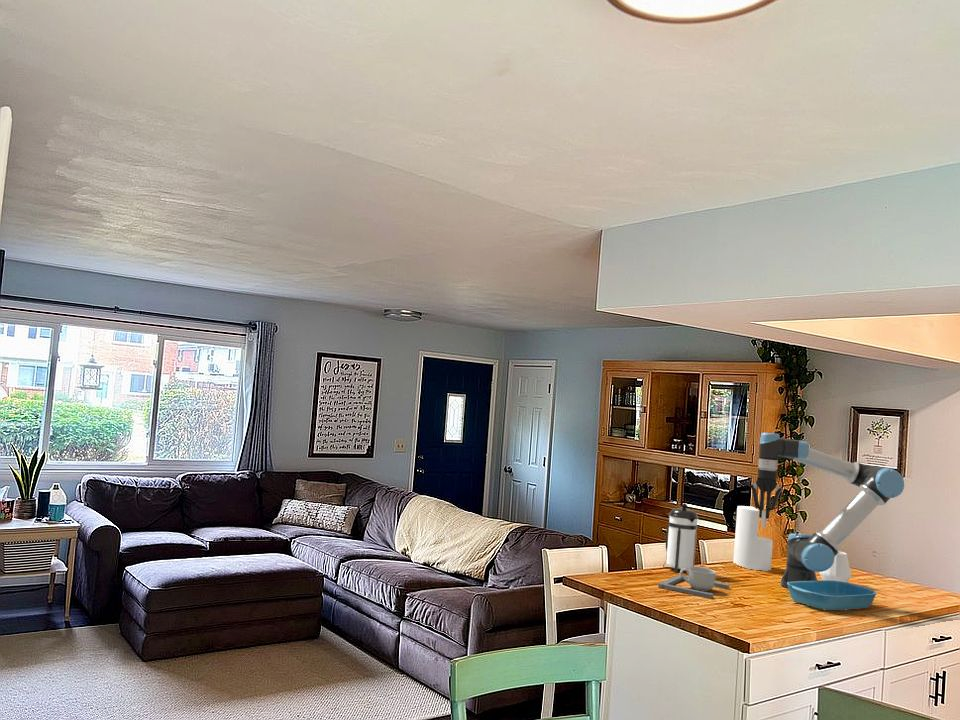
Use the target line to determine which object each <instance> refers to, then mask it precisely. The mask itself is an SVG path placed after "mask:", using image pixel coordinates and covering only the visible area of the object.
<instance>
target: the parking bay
mask: <svg viewBox="0 0 960 720" xmlns="http://www.w3.org/2000/svg"><path fill="white" fill-rule="evenodd" d="M683 576H684V577H685V578H687V579H688V575H683ZM681 580H682V581H684V579H683V578H682V577H681V575H680V574H677V575H675V576H674V577H673V576H672V577H671V578H667V580H664V581H661V582H659V583H658V585H657V587H659V589H663V588H664V590H667V589H668V591H672V590H674V591H673V592H677V591H679V592H678V593H682V592H684V593H683V594H686V593H688V594H687V595H691V594H693V595H692V596H696V595H697V596H698V597H701V596H702V598H705V597H706V599H710V598H711V599H714V593H712V592H708V591H700V590H696V589H693V588H687V587H682V586H678V585H675V583H676V584H677V582H678V583H680V582H682V581H681ZM679 581H680V582H679ZM673 584H674V585H673ZM714 586H716V587H715V588H719V587H721V588H720V589H724V588H726V589H725V590H729V589H730V584H729V583H723V582H718V581H715V583H714ZM728 588H729V589H728ZM697 596H696V597H697Z"/></svg>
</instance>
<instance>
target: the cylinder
mask: <svg viewBox="0 0 960 720" xmlns="http://www.w3.org/2000/svg"><path fill="white" fill-rule="evenodd" d="M759 511H760V510H759V509H758V508H756V507H755V506H751V505H750V506H747V505H746V506H745V505H737V508H736V521H735V535H734V536H735V537H734V547H733V563H736V564H737V565H739V566H742V567H745V568H748V569H747V570H749V569H753V570H752V571H756V570H762V571H761V572H769V571H768V570H770V571H772V558H773V546H774V545H773V544H774V543H773V539H771V538H768V537H763V536H758V535H759V534H758V532H759V523H760V522H759V521H760V517H759ZM733 563H732V564H733Z"/></svg>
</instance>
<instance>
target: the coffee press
mask: <svg viewBox="0 0 960 720" xmlns="http://www.w3.org/2000/svg"><path fill="white" fill-rule="evenodd" d="M681 507H682V508H680V507H679V508H673V509H671V511H670V512H669V513H668V514H669V515H668V516H669V521H668V522H667V525H666V533H665V535H666V537H665V551H666V555H665V556H666V557H665V562H664V564H663V565H662V567H663V568H664V569H665V568H667V567H671V568H673V569H674V570H673V572H674V571H675V572H674V573H676V572H677V571H678V572H679V570H681V569H683V568H686V569H688V570H689V567H693V566H695V561H696V559H695V558H696V550H697V549H696V547H697V545H696V544H697V532H698V520H699V516H698V514H697V512H696V511H694V510H693V509H689V508H688V504H687V503H685V502H684V503H682V505H681ZM665 564H666V566H665ZM678 572H677V573H678Z"/></svg>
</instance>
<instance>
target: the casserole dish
mask: <svg viewBox="0 0 960 720" xmlns="http://www.w3.org/2000/svg"><path fill="white" fill-rule="evenodd" d="M787 585H788V588H787V589H788V593H789V596H790V598H791V599H792V600H793V601H794V602H795V601H796V603H798V602H799V603H798V604H800V603H802V604H801V605H803V604H806V605H809V606H812V607H811V608H813V607H815V608H814V609H816V608H819V609H818V610H820V609H825V610H824V611H826V610H841V611H846V610H845V609H857V610H859V609H858V608H865V609H867V608H869V607H870V606H872V604H873V601H875V598H876V596H877V591H875V590H872V589H870V588H869V587H866V586H863V585H859V584H855V583H850V582H847V583H846V582H841V581H832V580H823V579H822V580H817V581H794V582H788V583H787ZM806 605H805V606H806ZM809 606H808V607H809Z"/></svg>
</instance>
